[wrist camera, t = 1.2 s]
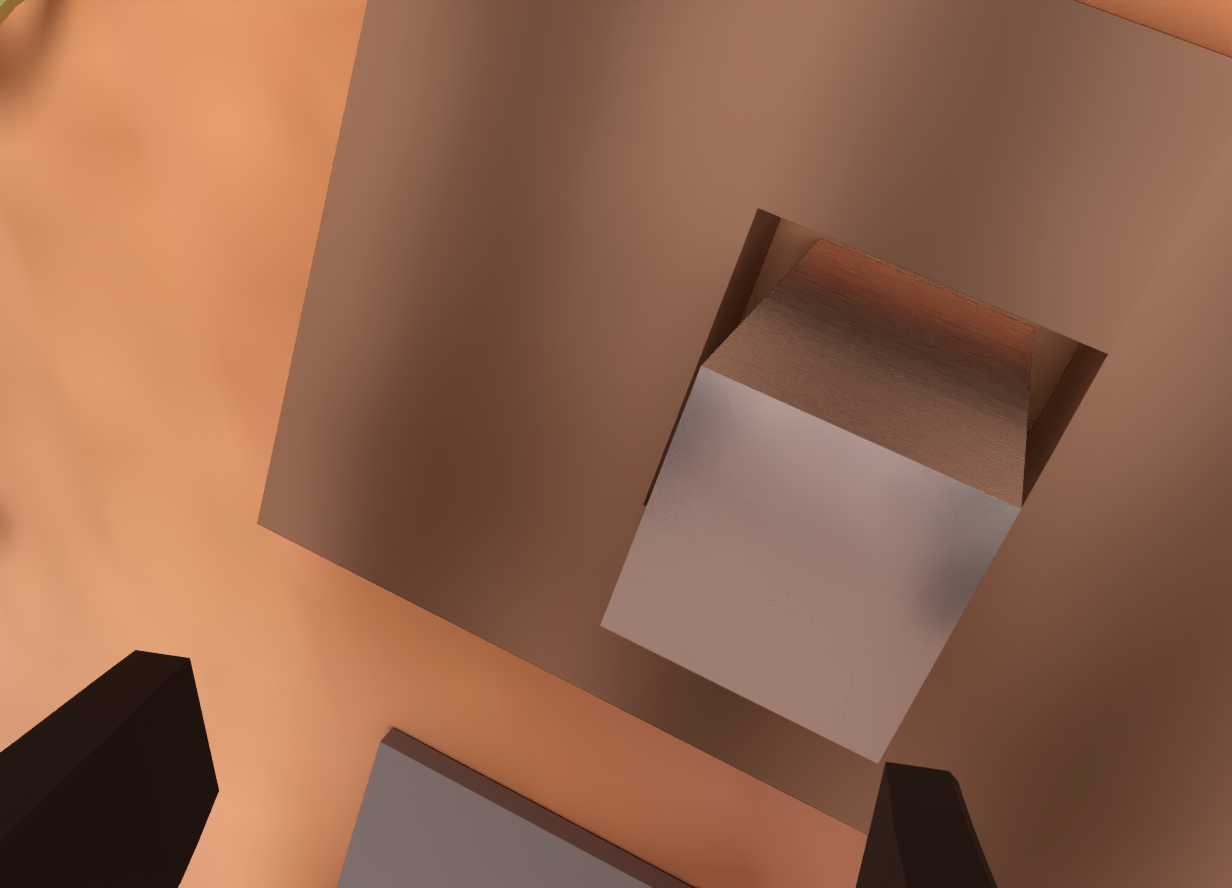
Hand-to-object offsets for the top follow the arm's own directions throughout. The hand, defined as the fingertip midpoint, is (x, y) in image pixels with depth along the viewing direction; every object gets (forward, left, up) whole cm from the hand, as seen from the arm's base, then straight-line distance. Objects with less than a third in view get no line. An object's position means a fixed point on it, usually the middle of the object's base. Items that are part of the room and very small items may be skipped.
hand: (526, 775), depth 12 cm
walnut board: (-2, -1, -12) cm, 12 cm away
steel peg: (-2, -1, -12) cm, 12 cm away
